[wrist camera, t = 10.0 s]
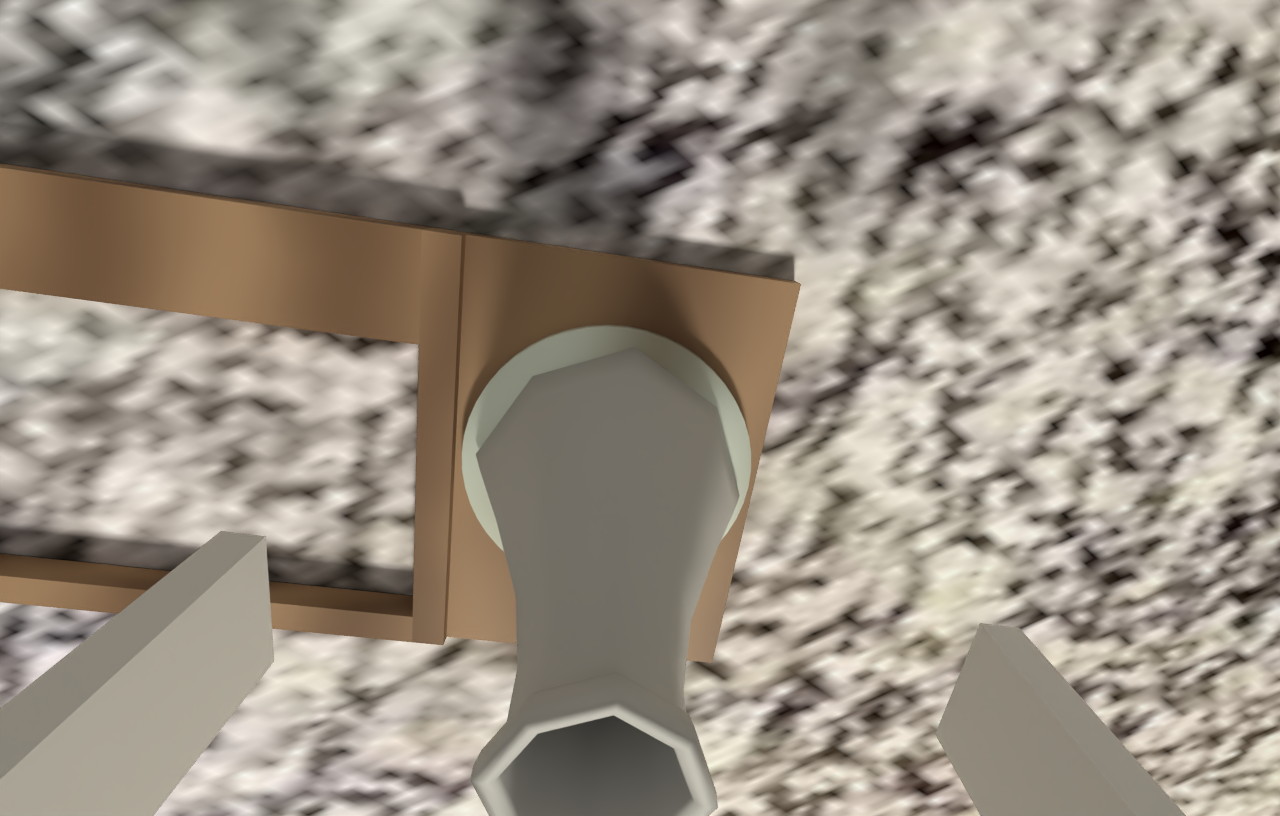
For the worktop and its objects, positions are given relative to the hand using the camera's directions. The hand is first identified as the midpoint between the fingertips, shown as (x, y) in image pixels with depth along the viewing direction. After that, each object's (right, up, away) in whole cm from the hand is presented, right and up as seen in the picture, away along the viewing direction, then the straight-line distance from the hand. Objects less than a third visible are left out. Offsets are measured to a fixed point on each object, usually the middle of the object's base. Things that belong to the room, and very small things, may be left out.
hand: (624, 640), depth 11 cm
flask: (-1, +3, +6) cm, 7 cm away
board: (-9, +4, +7) cm, 12 cm away
